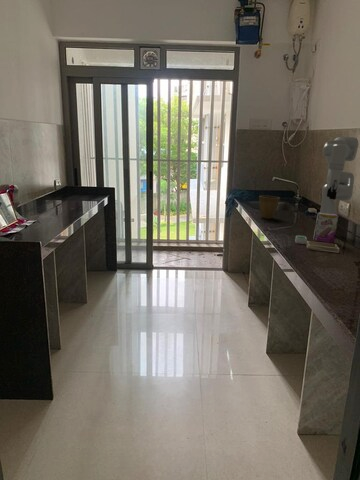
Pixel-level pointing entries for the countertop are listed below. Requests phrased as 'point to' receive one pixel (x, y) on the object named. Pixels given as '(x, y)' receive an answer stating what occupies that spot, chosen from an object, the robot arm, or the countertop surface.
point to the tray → (322, 246)
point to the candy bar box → (325, 227)
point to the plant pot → (268, 205)
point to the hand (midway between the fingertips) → (330, 198)
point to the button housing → (300, 240)
